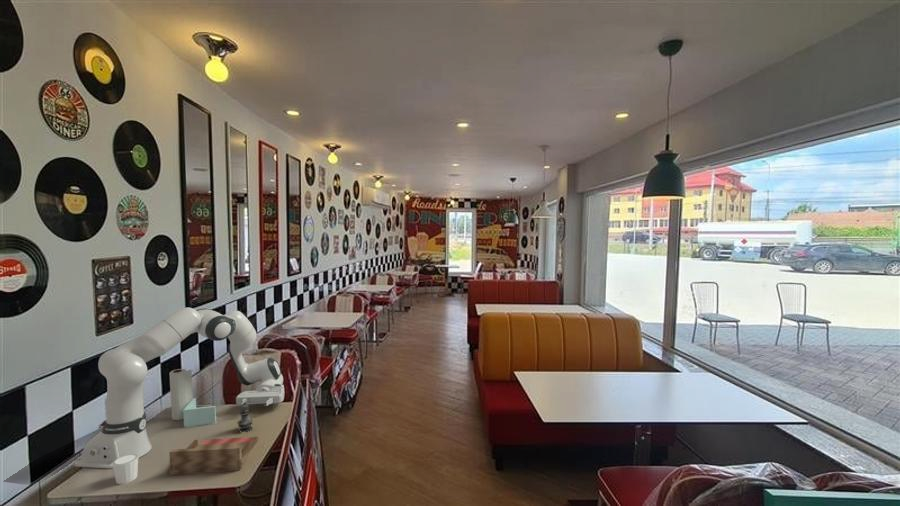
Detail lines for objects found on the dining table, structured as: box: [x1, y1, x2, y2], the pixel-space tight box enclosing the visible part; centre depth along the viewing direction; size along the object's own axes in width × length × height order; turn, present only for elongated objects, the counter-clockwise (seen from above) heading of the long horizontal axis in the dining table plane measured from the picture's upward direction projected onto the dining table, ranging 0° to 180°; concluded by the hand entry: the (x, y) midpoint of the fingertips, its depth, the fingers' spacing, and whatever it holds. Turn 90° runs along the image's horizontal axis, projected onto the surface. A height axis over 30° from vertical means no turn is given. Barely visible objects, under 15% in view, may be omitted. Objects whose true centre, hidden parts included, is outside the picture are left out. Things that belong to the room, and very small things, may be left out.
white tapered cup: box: [112, 454, 139, 485], centre depth 137 cm, size 7×7×7 cm
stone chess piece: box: [237, 402, 254, 433], centre depth 169 cm, size 6×6×12 cm
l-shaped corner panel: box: [183, 397, 217, 428], centre depth 178 cm, size 12×12×8 cm
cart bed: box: [169, 436, 259, 475], centre depth 150 cm, size 23×21×8 cm
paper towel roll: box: [168, 368, 194, 421], centre depth 179 cm, size 7×6×21 cm
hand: (254, 404), depth 179 cm, fingers open, 8 cm apart
